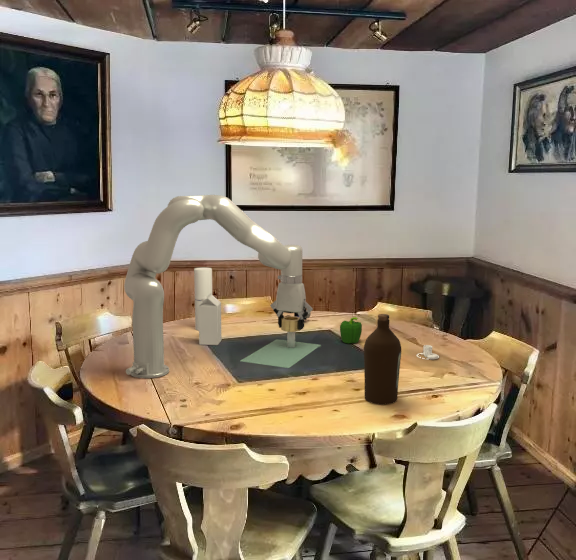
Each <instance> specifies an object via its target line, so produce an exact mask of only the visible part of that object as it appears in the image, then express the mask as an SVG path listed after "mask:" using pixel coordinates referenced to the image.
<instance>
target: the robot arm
mask: <svg viewBox="0 0 576 560" xmlns="http://www.w3.org/2000/svg"><path fill="white" fill-rule="evenodd" d="M207 220H212V221H214V222H215V223H217V224H218V225H219V226H221V227H222V228H223V229H224V230H225V231H226V232H227V233H229V235H231V237H232V238H233V239H235V240H236V241H237V242H238V243H240V244H242V245H244V246H246V247H248V248H250V249H252V250H254V251H255V252H257V260H258V261H259V262H260V263H261V264H262V265H263V266H265V267H270V268H273V269H276V270H280V275H279V274H278V275H277V280H279V281H280V282H279V283H278V286H277V291H276V300H274V301H273V302H272V303H271V304H269V305H270V308H271V310H273V312H274V313H275V315H276V317H277V325H278V328H280V329H281V318H283V317H285V314H284V311H286V312H296V313H298V315H299V317H300V319H299V320H298V330H300V331H302V330H303V329H304V328H305V323H304V321H305V320H304V318H305V317H306V316H307V315H308V314H309V313H312V312H313V310H314V309H313V307H312V306H311V305H310V304H309V303H308V302H307V301H306V299H307V297H306V290H305V284H304V283H303V248H302V246H301V245H298V244H285V245H284V244H283V243H281V242H280V241H279V240H278V239H277V237H275V236H274V235H272V234H271V233H270V232H269V231H267V230H266V229H265V228H263V227H261V226H260V225H259V224H257V223H256V222H255V221H254V220H252V219H251V218H250V217H249V216H248V215H247V214H246V213H245V212H244V211H243V210H242V209H241V208H240V207H239V206H237V204H236V203H234V202H233V201H232V200H231V199H230V198H229V197H226V196H224V195H219V194H204V195H202V194H201V195H200V194H199V195H178V196H175V197H173V198H171V199H170V200H169V202H168V204H167V206H166V207H165V208H164V209H163V210H162V211H161V212H160V213H159V214H158V215H157V217H156V218H155V220H154V222H153V225H152V228H151V230H150V233H149V236H148V239H147V240H146V241H143V242H140V243H139V244H138V245H137V246H136V248H135V249H134V251H133V253H132V255H131V260H130V262H129V265H128V269H127V273H126V276H125V280H124V285H123V287H124V292H125V294H126V296H127V297H128V298H129V299H130V300H132V301H133V306H132V314H131V316H132V318H131V319H132V320H131V321H132V341H133V345H132V346H133V361H132V366H130V367H128V368H126V370H125V373H126V375H128V376H129V375H130V376H131V377H134V378H139V379H153V378H160V377H163V376H165V375H167V374H169V372H170V367H169V366H168V365H166V364H165V347H164V342H165V341H164V302H165V291H164V288H163V285H162V284H161V282H160V281H159V280H158V279H157V278H156V276H157V274H161V273H164V272H165V271H167V269H168V268H169V266H170V264H171V260H172V257H173V254H174V250H175V247H176V244H177V243H176V242H177V240H178V238H179V235H180V234H181V232H182V230H183V229H184V228H186V227H187V226H188V225H190V224H195V223H197V222H198V221H207ZM305 308H306V310H307V311H306V312H305V313H304V311H303V310H305Z"/></svg>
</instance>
